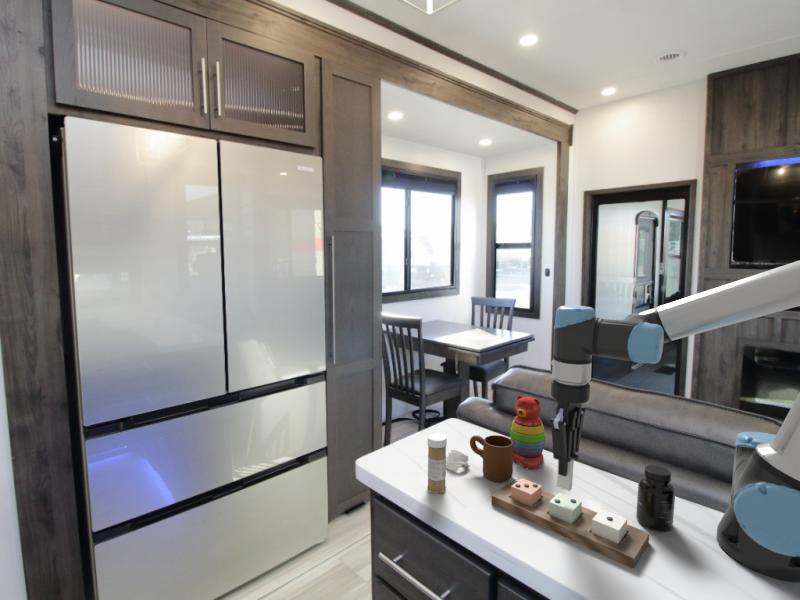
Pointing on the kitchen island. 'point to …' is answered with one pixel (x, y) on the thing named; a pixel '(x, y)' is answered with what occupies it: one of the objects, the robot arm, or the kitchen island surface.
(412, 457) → the kitchen island surface
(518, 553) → the kitchen island surface
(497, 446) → the mug
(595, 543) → the button board
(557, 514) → the two-pip button
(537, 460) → the stacking bear
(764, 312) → the robot arm
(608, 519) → the one-pip button
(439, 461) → the sprinkles bottle
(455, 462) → the crumpled white paper
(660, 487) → the supplement bottle
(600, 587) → the kitchen island surface
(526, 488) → the three-pip button
